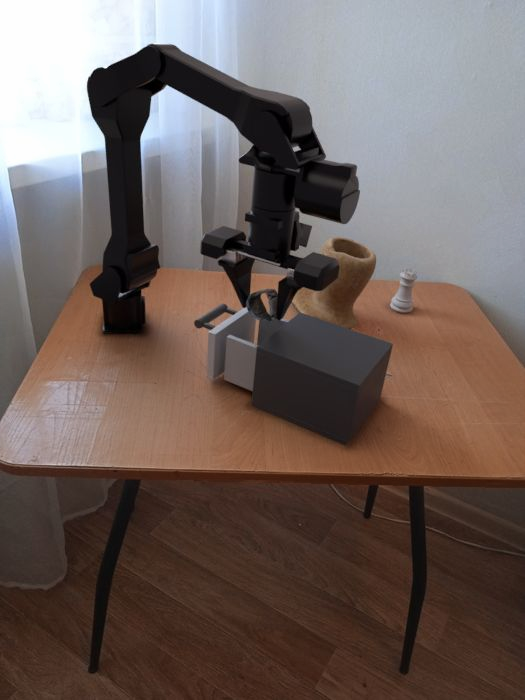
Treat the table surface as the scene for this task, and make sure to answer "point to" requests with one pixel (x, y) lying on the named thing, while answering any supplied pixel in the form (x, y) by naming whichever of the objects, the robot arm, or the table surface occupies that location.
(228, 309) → the drawer
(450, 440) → the table surface
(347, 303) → the stone cup
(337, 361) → the cabinet
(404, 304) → the rook chess piece
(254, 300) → the wristwatch
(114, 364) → the table surface
